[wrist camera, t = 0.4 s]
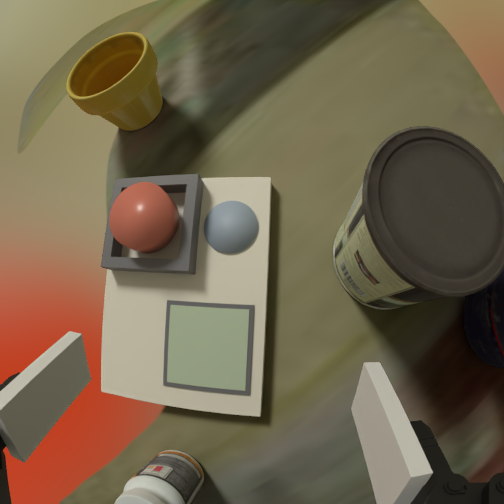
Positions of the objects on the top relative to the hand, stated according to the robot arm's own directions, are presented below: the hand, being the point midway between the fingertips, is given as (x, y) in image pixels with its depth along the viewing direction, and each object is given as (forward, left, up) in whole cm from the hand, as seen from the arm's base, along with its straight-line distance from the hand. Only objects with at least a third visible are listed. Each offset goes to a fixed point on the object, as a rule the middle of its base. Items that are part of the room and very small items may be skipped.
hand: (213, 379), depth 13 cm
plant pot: (+27, +16, -16) cm, 35 cm away
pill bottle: (-14, +7, -16) cm, 22 cm away
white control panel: (+5, +7, -15) cm, 18 cm away
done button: (+11, +10, -12) cm, 19 cm away
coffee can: (+9, -12, -16) cm, 22 cm away
